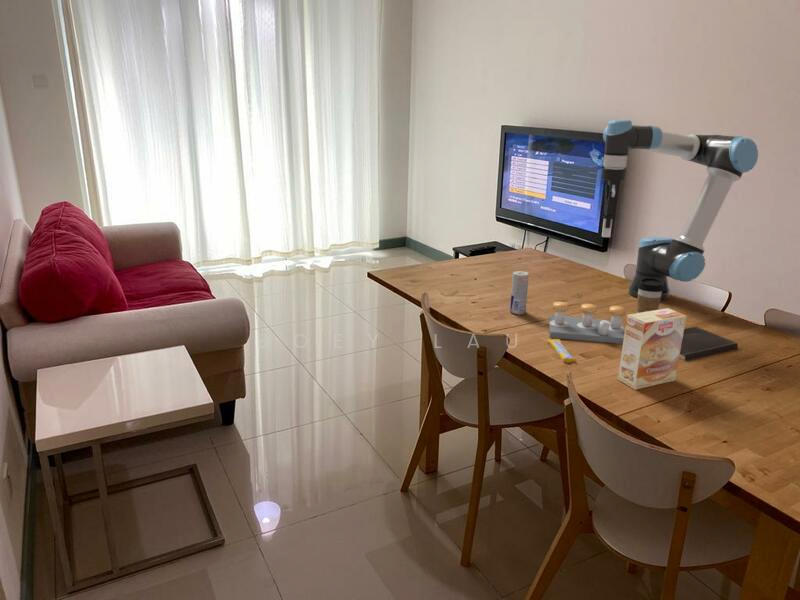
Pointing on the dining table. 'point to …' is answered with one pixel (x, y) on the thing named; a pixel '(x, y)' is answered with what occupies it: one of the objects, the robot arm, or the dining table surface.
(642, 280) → the coffee cup
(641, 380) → the coffeecake box
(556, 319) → the knob far
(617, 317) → the knob near
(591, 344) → the dining table surface
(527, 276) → the beverage can
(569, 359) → the candy bar
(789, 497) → the dining table surface
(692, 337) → the hardcover book
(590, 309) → the knob middle
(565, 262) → the dining table surface
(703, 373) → the dining table surface
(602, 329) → the pot dial
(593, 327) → the mount board
